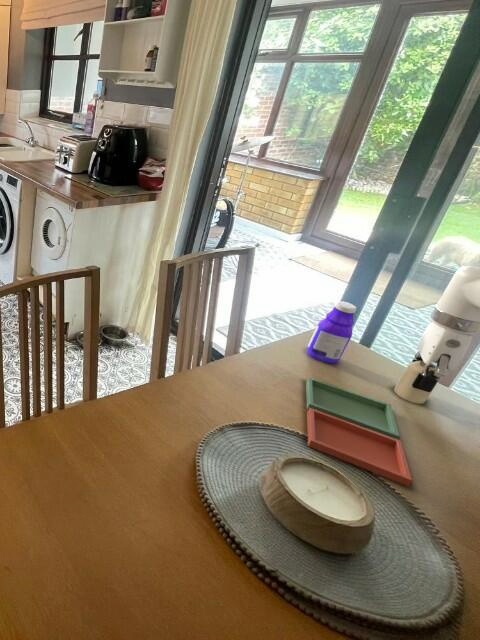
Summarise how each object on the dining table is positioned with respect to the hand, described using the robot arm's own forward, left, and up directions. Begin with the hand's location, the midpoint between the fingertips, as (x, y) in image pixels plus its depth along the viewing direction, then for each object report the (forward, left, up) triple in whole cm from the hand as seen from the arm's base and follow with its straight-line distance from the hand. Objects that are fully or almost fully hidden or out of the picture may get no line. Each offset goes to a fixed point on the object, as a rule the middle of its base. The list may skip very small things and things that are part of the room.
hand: (418, 381), depth 100 cm
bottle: (+17, -6, -5) cm, 19 cm away
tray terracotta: (+13, +29, -5) cm, 32 cm away
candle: (0, 0, -5) cm, 5 cm away
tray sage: (+13, +16, -5) cm, 21 cm away
